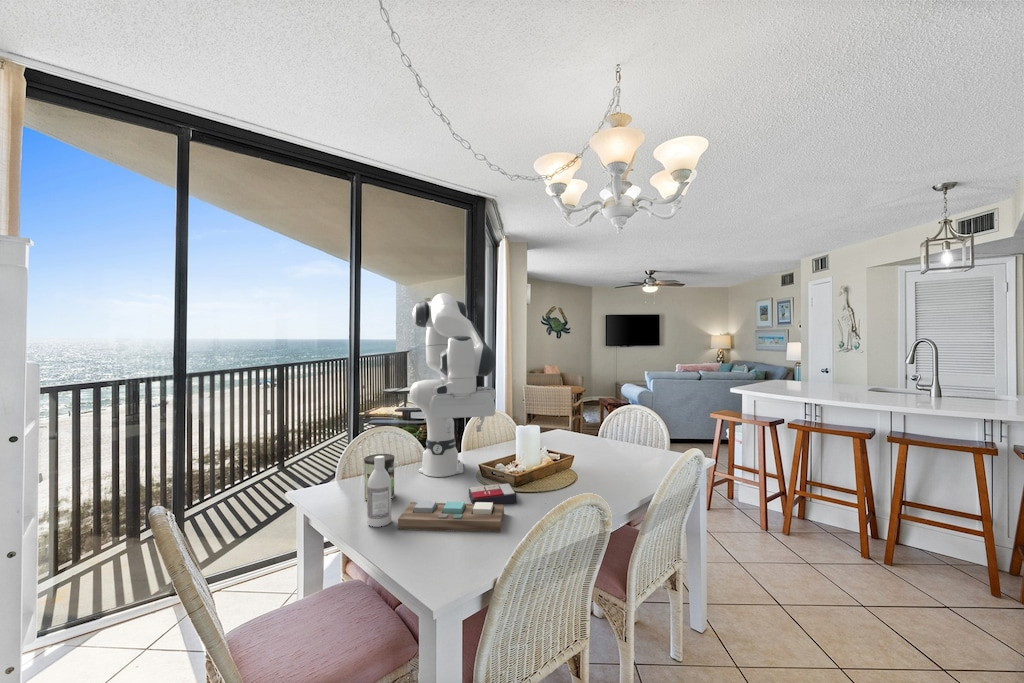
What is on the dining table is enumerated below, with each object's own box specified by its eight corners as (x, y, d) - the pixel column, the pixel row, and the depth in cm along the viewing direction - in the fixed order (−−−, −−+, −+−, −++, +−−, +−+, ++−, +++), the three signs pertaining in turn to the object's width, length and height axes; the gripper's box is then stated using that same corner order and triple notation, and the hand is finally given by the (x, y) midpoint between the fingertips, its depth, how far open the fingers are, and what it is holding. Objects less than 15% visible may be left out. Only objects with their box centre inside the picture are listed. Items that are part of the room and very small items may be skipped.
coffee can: (396, 491, 158) (396, 453, 158) (391, 502, 148) (391, 460, 148) (368, 492, 157) (368, 453, 157) (360, 503, 147) (360, 461, 147)
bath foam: (374, 517, 135) (374, 453, 135) (395, 518, 134) (395, 454, 134) (363, 527, 128) (363, 459, 128) (385, 528, 127) (385, 460, 127)
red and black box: (468, 486, 153) (509, 481, 157) (468, 498, 154) (510, 493, 157) (472, 497, 143) (516, 491, 146) (473, 510, 143) (517, 504, 146)
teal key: (447, 507, 136) (447, 501, 136) (464, 508, 136) (464, 501, 136) (443, 514, 131) (443, 508, 131) (461, 515, 130) (461, 508, 130)
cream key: (475, 508, 136) (475, 502, 136) (493, 508, 135) (493, 502, 135) (472, 515, 130) (472, 508, 130) (491, 516, 130) (491, 509, 130)
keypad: (411, 511, 139) (411, 501, 139) (503, 513, 137) (503, 503, 137) (397, 529, 126) (397, 517, 126) (500, 531, 124) (500, 520, 124)
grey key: (419, 507, 137) (419, 500, 137) (436, 507, 137) (436, 501, 137) (414, 514, 131) (414, 507, 131) (431, 514, 131) (431, 507, 131)
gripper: (495, 385, 138) (497, 429, 138) (431, 388, 138) (432, 431, 137) (495, 386, 132) (497, 432, 131) (428, 389, 131) (429, 435, 131)
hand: (463, 432), depth 134 cm, fingers open, 8 cm apart
